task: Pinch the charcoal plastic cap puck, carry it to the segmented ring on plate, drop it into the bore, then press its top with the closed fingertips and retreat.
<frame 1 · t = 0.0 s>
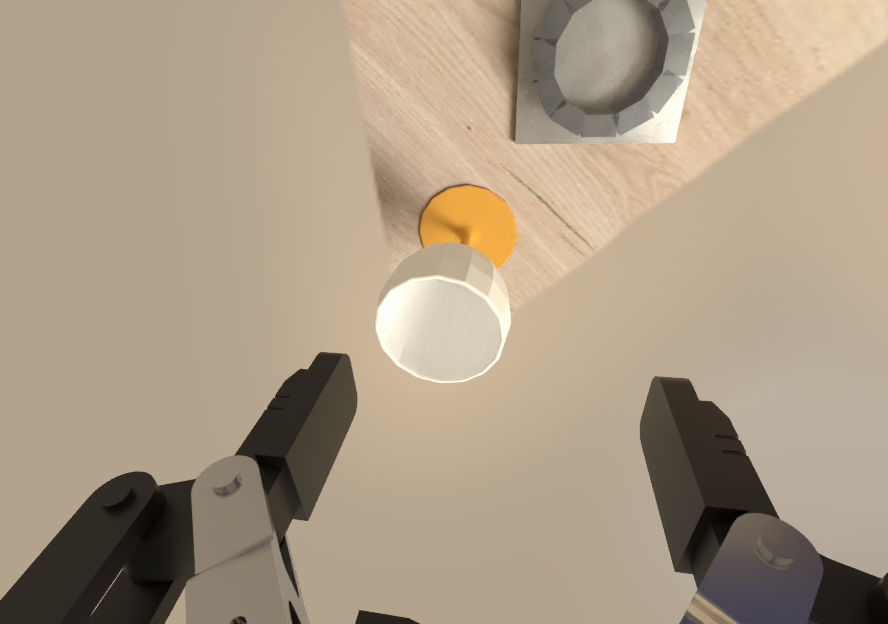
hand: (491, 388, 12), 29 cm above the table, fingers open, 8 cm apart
segmented ring on plate: (603, 54, 32), on the table
cup: (468, 232, 41), on the table
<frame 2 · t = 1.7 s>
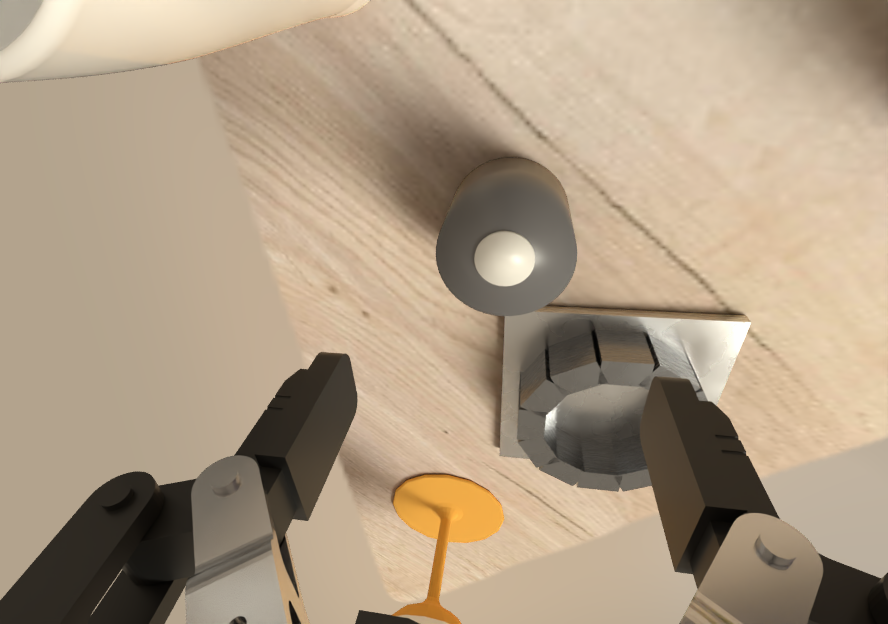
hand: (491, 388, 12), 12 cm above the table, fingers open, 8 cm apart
segmented ring on plate: (603, 393, 27), on the table
cup: (448, 506, 36), on the table
cap: (508, 216, 21), on the table
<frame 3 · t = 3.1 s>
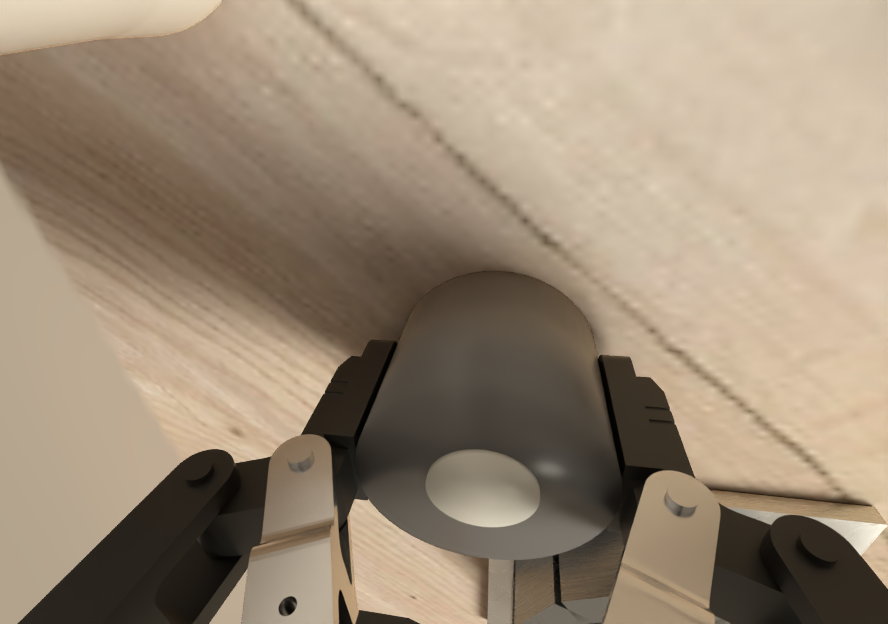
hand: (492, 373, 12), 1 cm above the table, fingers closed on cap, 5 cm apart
segmented ring on plate: (636, 577, 18), on the table
cap: (495, 355, 13), on the table, touching gripper
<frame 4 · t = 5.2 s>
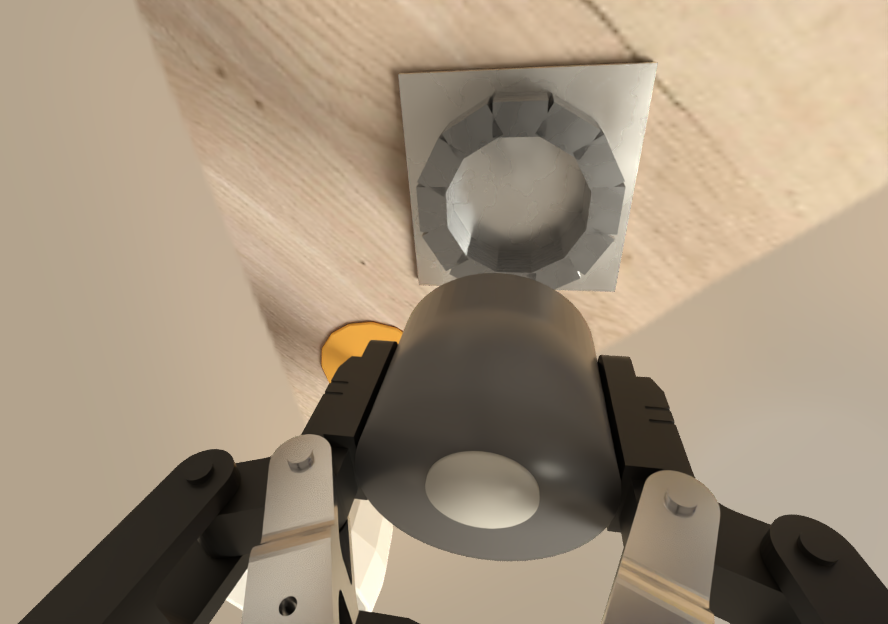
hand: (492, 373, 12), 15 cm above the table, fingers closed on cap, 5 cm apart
segmented ring on plate: (517, 190, 25), on the table
cup: (379, 367, 34), on the table
cap: (495, 356, 13), point 14 cm above the table, touching gripper
when the fingers open (4 cm above the table, at t = 7.3 s): cap drops 2 cm, resting on segmented ring on plate.
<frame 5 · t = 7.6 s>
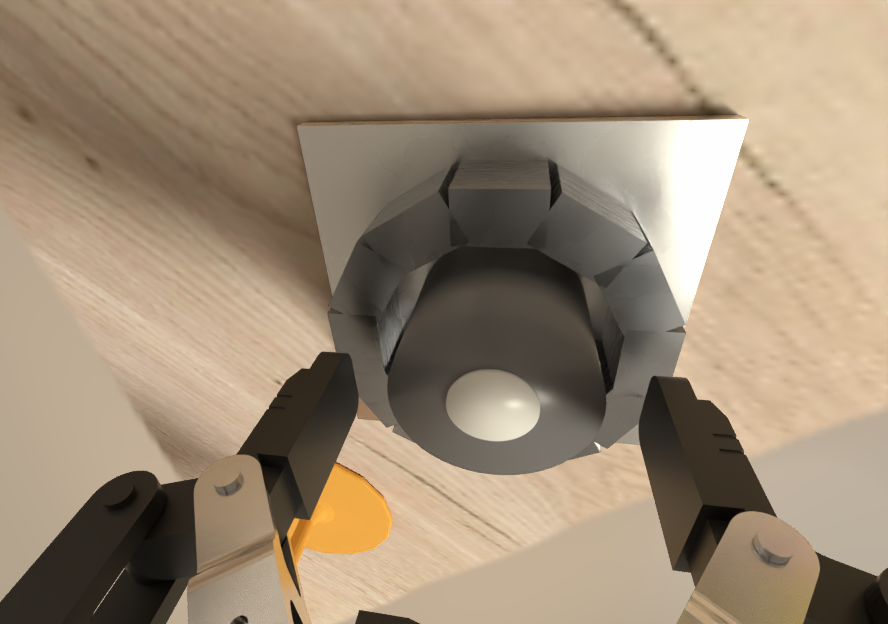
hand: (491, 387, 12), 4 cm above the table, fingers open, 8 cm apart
segmented ring on plate: (500, 301, 16), on the table
cup: (315, 501, 25), on the table
cap: (500, 310, 15), point 1 cm above the table, touching segmented ring on plate
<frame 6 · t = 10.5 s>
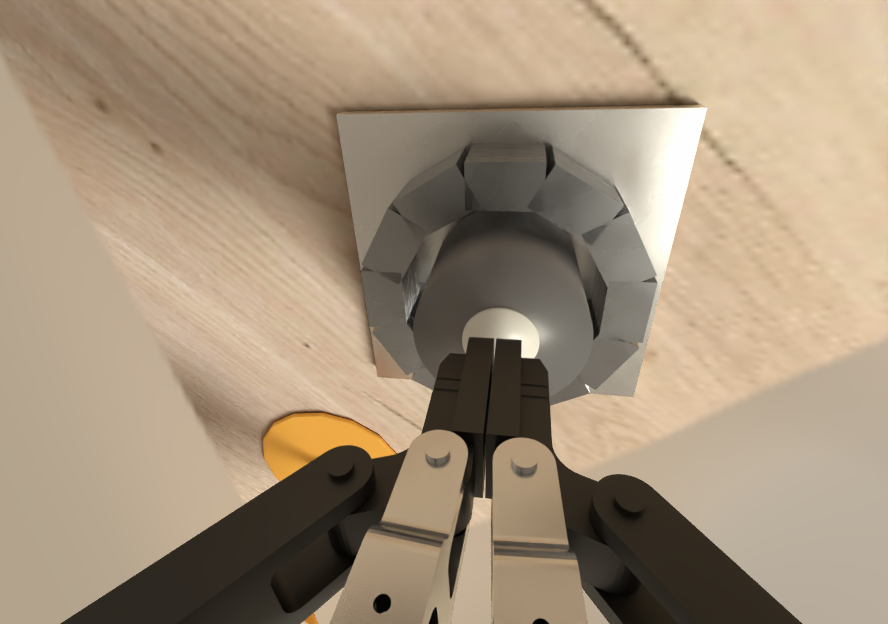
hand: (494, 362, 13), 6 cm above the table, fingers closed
segmented ring on plate: (504, 267, 18), on the table
cup: (335, 461, 28), on the table
cap: (505, 274, 18), point 1 cm above the table, touching segmented ring on plate
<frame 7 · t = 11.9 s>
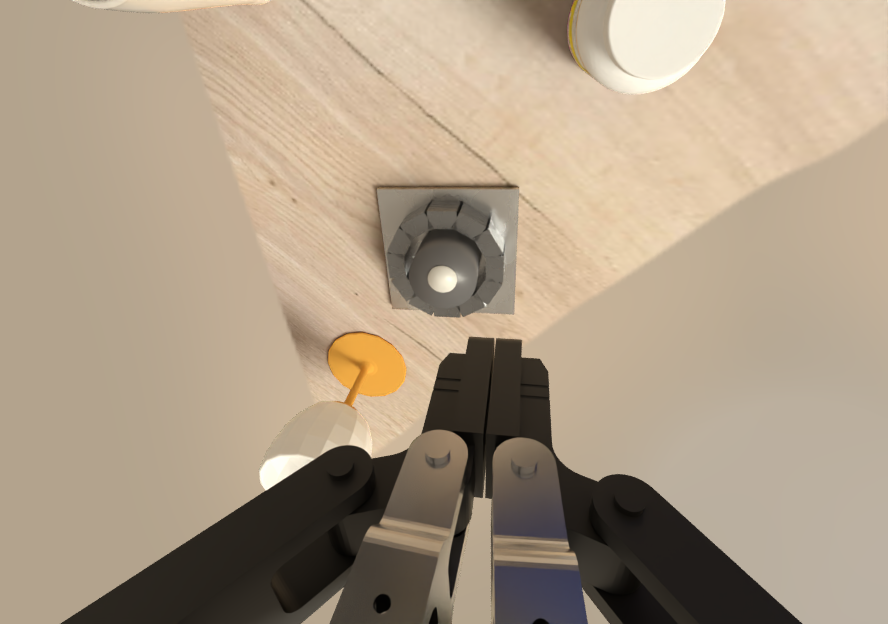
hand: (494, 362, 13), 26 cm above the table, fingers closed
segmented ring on plate: (450, 252, 41), on the table
supplement bottle: (616, 22, 30), on the table
cup: (367, 364, 50), on the table
cap: (449, 255, 40), point 1 cm above the table, touching segmented ring on plate
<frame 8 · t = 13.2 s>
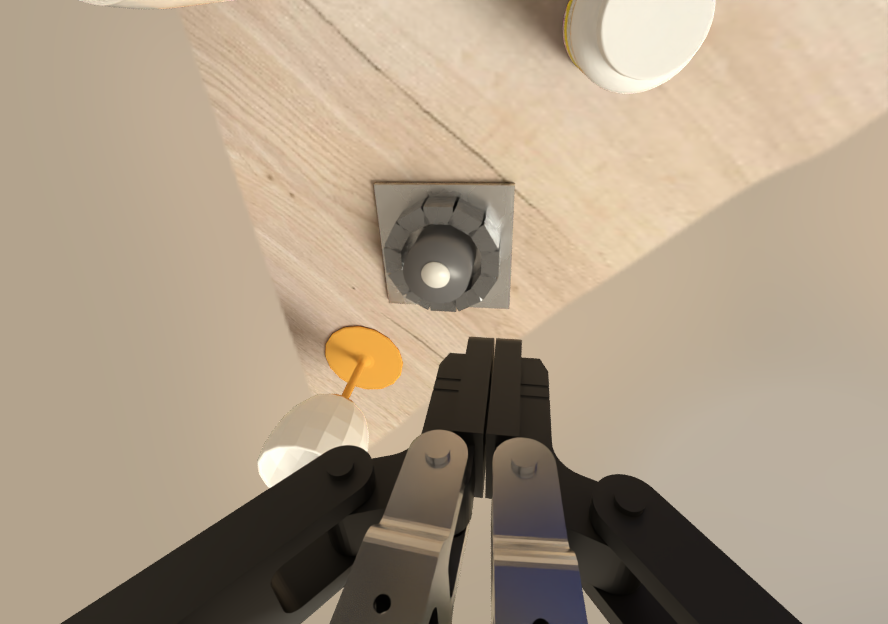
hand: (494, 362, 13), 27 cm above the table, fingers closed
segmented ring on plate: (446, 247, 41), on the table
supplement bottle: (611, 21, 30), on the table
cup: (364, 357, 50), on the table
cap: (445, 250, 40), point 1 cm above the table, touching segmented ring on plate
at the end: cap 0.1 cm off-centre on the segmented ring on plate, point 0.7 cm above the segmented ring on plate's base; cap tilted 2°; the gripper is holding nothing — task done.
